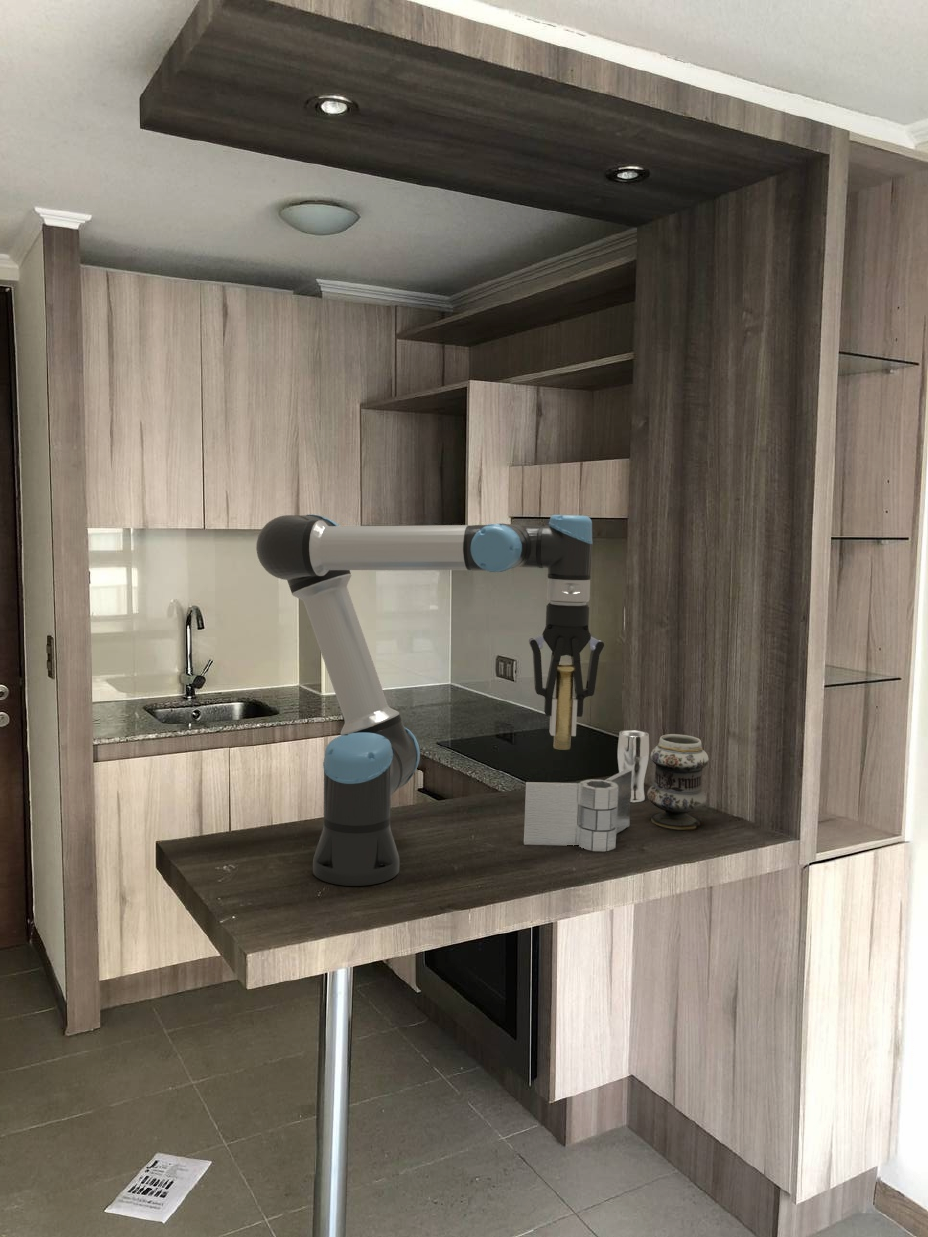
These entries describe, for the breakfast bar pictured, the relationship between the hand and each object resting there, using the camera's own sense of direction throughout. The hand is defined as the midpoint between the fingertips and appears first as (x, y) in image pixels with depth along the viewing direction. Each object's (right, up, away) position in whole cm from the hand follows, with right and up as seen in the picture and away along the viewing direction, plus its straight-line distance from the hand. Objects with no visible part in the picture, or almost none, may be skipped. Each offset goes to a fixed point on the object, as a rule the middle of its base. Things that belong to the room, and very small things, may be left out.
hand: (562, 733), depth 175 cm
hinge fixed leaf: (+3, -23, +15) cm, 28 cm away
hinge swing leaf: (+11, -23, +19) cm, 32 cm away
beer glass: (+20, -20, +47) cm, 55 cm away
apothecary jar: (+27, -22, +30) cm, 46 cm away
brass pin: (0, -3, 0) cm, 3 cm away
